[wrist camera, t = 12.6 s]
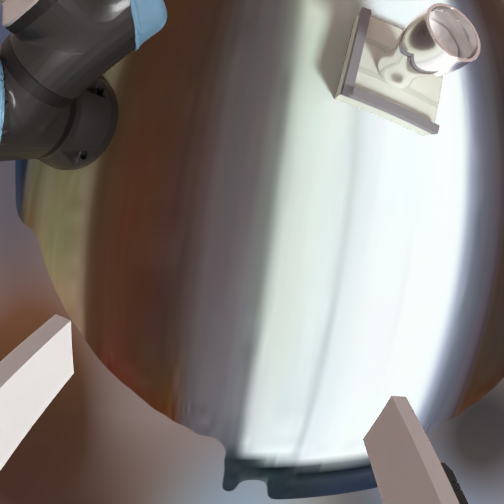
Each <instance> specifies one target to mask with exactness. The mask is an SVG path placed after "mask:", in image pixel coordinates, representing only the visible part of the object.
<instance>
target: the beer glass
mask: <svg viewBox="0 0 504 504" xmlns="http://www.w3.org/2000/svg"><path fill="white" fill-rule="evenodd" d="M479 53H480V40H479V37H478V34H477V32H476V30H475V28H474V26H473V25H472V23H471V22H470V21H469V20H468V19H467V17H466V16H465V15H464V14H462V13H461V12H460V11H459V10H457V9H455V8H454V7H452V6H450V5H447V4H442V3H438V4H434V5H432V6H430V7H429V8H428V9H426V10H425V11H423V12H421V13H420V14H419V15H417V16H416V17H415V18H413V19H412V20H411V21H410V22H409V23H408V24H407V25H406V26H405V28H404V29H403V31H402V32H401V34H400V36H399V38H398V39H397V41H396V43H395V45H394V46H393V47H391V48H388V49H386V50H384V51H382V52H381V53H380V55H379V57H378V61H377V65H378V70H379V72H380V74H381V76H382V77H383V79H384V80H385V81H386V82H387V83H388V84H390V85H391V86H393V87H396V88H399V89H407V88H410V87H411V86H413V85H414V84H415V83H416V82H417V80H419V79H422V78H429V77H437V76H442V75H446V74H448V73H451V72H454V71H456V70H458V69H460V68H461V67H463V66H465V65H466V64H468V63H470V62H472V61H474V60H475V59H476V58H477V57H478V56H479Z"/></svg>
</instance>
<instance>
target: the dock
mask: <svg viewBox="0 0 504 504" xmlns="http://www.w3.org/2000/svg"><path fill="white" fill-rule="evenodd" d="M370 15H371V10H369V9H367V8H364V7H363V8H362V10H361V11H360V13H359V14H358V16H357V17H356V19H355V20H354V25H353V29H352V33H351V37H350V41H349V45H348V49H347V53H346V57H345V61H344V65H343V69H342V73H341V77H340V81H339V84H338V88H337V92H336V96H335V100H338V101H341V102H344V103H347V104H349V105H352V106H355V107H357V108H360V109H362V110H365V111H367V112H370V113H372V114H375V115H377V116H380V117H382V118H384V119H387V120H389V121H391V122H394V123H396V124H398V125H400V126H403V127H405V128H407V129H409V130H411V131H413V132H415V133H417V134H420V135H422V136H425V135H432V134H438V130H439V125H437V124H435V119H436V114H437V109H438V103H439V98H440V92H441V85H442V79H443V75H442V76H437V77H429V78H422V79H419V80H417V82H416V83H415V84H414V85H413V86H411V87H410V88H407V89H399V88H396V87H393V86H391V85H390V84H388V83H387V82H386V81H385V80H384V79H383V77H382V76H381V74H380V72H379V70H378V65H377V61H378V57H379V55H380V53H381V52H382V51H384V50H386V49H388V48H391V47H393V46H394V45H395V43H396V41H397V39H398V38H399V36H400V34H401V32H402V31H403V30H402V29H400V28H398V27H395V26H393V25H391V24H389V23H387V22H384V21H382V20H380V19H377V18H375V17H372V16H370Z"/></svg>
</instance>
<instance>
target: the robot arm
mask: <svg viewBox="0 0 504 504" xmlns="http://www.w3.org/2000/svg"><path fill="white" fill-rule="evenodd" d="M0 2H1V3H2V5H3V16H2V25H3V26H4V27H5V28H6V29H8V30H9V31H10V32H12V33H11V34H10V35H9V36H8V37H7V38H6V39H5V41H4V42H3V43H2V44H1V45H0V161H9V160H23V159H38V160H40V161H42V162H43V163H45V164H47V165H49V166H51V167H53V168H56V169H60V170H72V169H79V168H82V167H85V166H87V165H89V164H90V163H92V162H93V161H95V160H96V159H97V158H98V157H99V156H100V155H101V154H102V153H103V151H104V150H105V149H106V147H107V146H108V144H109V142H110V141H111V138H112V136H113V134H114V131H115V128H116V123H117V117H118V106H117V100H116V96H115V94H114V91H113V89H112V88H111V86H110V85H109V84H108V83H107V82H106V81H105V80H104V79H102V78H100V76H101V75H103V74H104V73H105V72H106V71H107V70H109V69H110V68H111V67H112V66H114V65H115V64H116V63H117V62H119V61H120V60H121V59H122V58H124V57H125V56H126V55H128V54H129V53H130V52H132V51H133V50H134V51H136V50H137V49H139V47H140V45H141V44H142V43H144V42H145V41H146V40H148V39H149V38H150V37H152V36H153V35H154V34H156V33H157V32H158V31H160V30H161V29H162V28H163V26H164V25H165V23H166V20H167V11H166V7H165V4H164V1H163V0H0ZM73 373H74V370H73V357H72V340H71V320H68V319H66V318H64V317H61V316H59V315H56V314H55V315H54V316H53V317H52V318H51V319H49V320H48V321H47V322H46V323H44V324H43V325H42V326H41V327H40V328H38V329H37V330H36V331H35V332H34V333H33V334H31V335H30V336H29V337H28V338H27V339H26V340H25V341H23V342H22V343H21V344H20V345H19V346H17V347H16V348H15V349H14V350H13V351H12V352H11V353H9V354H8V355H7V356H6V357H5V358H4V359H3V360H2V361H1V362H0V470H1V469H2V467H3V466H4V464H5V463H6V462H7V460H8V459H9V457H10V456H11V454H12V453H13V452H14V450H15V449H16V448H17V446H18V445H19V443H20V442H21V440H22V439H23V438H24V437H25V435H26V434H27V433H28V431H29V430H30V428H31V427H32V426H33V424H34V423H35V422H36V420H37V419H38V418H39V416H40V415H41V414H42V413H43V411H44V410H45V409H46V407H47V406H48V405H49V404H50V402H51V401H52V400H53V398H54V397H55V396H56V395H57V393H58V392H59V391H60V390H61V388H62V387H63V386H64V384H65V383H66V382H67V381H68V380H69V378H70V377H71V376H72V374H73ZM363 440H364V443H365V446H366V450H367V453H368V456H369V459H370V462H371V466H372V469H373V472H374V475H375V479H376V482H377V485H378V489H379V492H380V496H381V499H382V502H383V504H468V502H467V500H466V498H465V496H464V494H463V492H462V490H460V489H461V488H460V486H459V484H458V483H457V480H456V477H455V475H454V474H453V471H452V470H451V469H450V468H449V467H448V466H447V465H446V464H445V463H440V461H439V460H438V457H437V455H436V453H435V451H434V449H433V447H432V445H431V443H430V442H429V440H428V438H427V436H426V434H425V432H424V430H423V428H422V426H421V424H420V422H419V420H418V419H417V417H416V415H415V413H414V411H413V409H412V407H411V405H410V404H409V402H408V400H407V398H406V397H399V396H391V398H390V399H389V401H388V403H387V404H386V406H385V407H384V409H383V411H382V412H381V414H380V415H379V417H378V418H377V420H376V421H375V423H374V424H373V426H372V427H371V429H370V430H369V432H368V433H367V435H366V436H365V437H364V439H363Z"/></svg>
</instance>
